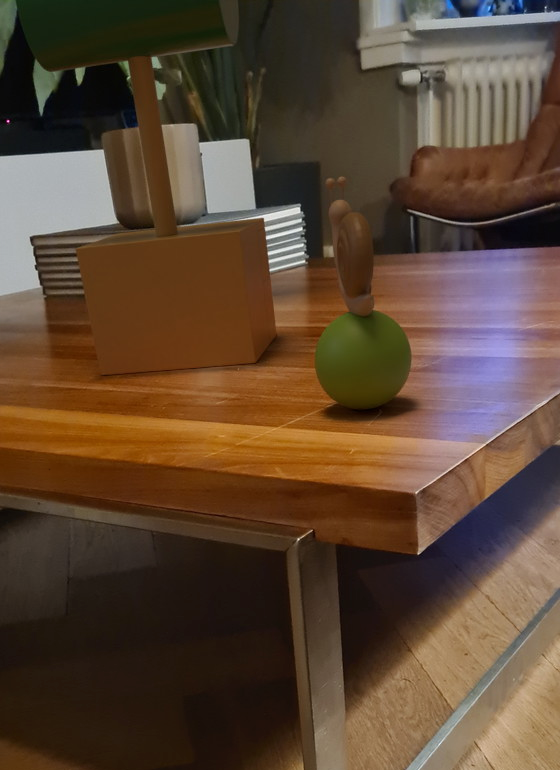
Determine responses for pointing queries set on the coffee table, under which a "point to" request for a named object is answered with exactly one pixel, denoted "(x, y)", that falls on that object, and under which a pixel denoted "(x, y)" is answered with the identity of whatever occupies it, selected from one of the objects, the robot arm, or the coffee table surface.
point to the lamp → (160, 202)
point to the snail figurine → (359, 322)
